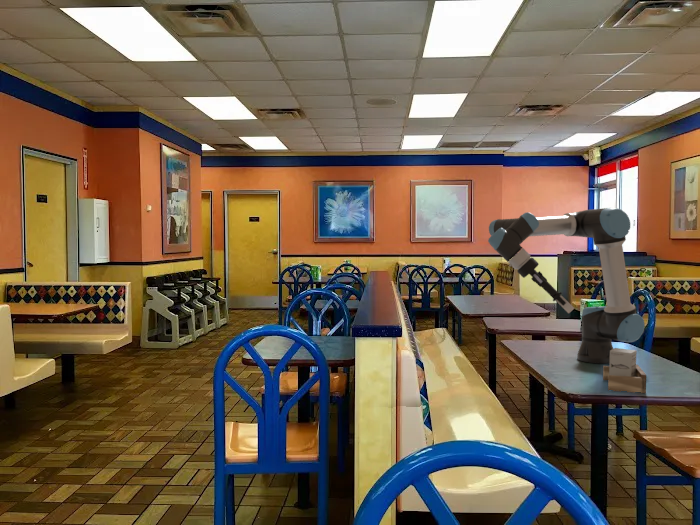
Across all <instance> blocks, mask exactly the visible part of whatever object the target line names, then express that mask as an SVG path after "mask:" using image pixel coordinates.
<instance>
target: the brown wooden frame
mask: <svg viewBox="0 0 700 525" xmlns="http://www.w3.org/2000/svg"><path fill="white" fill-rule="evenodd" d="M602 367H603V369H602V373H603V374H602V380H603V381H607V384H608V385H607V390H608V391H609V390H613V391H612V392H621V391H627V392H626V393H635V392H641V393H640V394H647V373H646V372H645V371H644V370H643V369H642V368H641V366H639V364H637V363H636V377H630V376H614V375H609V365H603V366H602Z"/></svg>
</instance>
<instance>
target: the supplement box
mask: <svg viewBox="0 0 700 525" xmlns="http://www.w3.org/2000/svg"><path fill="white" fill-rule="evenodd" d="M637 353H638V352H637V350H635V349H627V348H619V347H613V349H612V350H610V363H608V364H609V365H608V366H609V375H614V376H630V377H636V364H637Z"/></svg>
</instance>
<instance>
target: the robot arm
mask: <svg viewBox="0 0 700 525" xmlns="http://www.w3.org/2000/svg"><path fill="white" fill-rule="evenodd" d="M630 230H631V220H630V218H629V215H628V214H627V213H626V212H625V211H623V210H622V209H620V208H618V207H617V208H616V207H614V208H613V207H604V208H594V209H592V208H591V209H590V208H589V209H585V210H580V211H576V212H567V213H564V214H563V215H556V216H555V215H554V216H553V215H552V216H540V217H537V216H536V215H535V214H533V213H531V212H524V213H523V214H521V215H520V216H519V217H517V218H516V217H515V218H502V219H501V218H497V219H494V220H492V221H491V222H490V223H489V225H488V233H489V234H490V237H489V238H488V240H487V242H488V244H489V245H490V246H491V247H492V249H494V251H496V252H497V253H498V254H499V256H501V257H502V258H503V260H505V261H506V262H507V263H508V266H509V268H510V267H512V268H513V269H514V270H517V273H518V274H519V276H521V277H522V278H524V279H525V278H526V277H527V276H529V275H530V276H531V280H532V282H534V283H535V284H537V286H539V287H540V288H542V289H543V290H544V291H545V292H546V293H547V294H548V295H549V296H550V297H551V298H552V301H553V302H556V303H557V304H559V306H561V308H562V309H564V311H565V312H566V313H567V314H570V313H571V312H572V311H573V310H574V309H575V307H573V305H572V304H571V303H570V302H569V301H568V300H567V299H566V298H565V297H564V296H562V292H561V291H560V292H559V291H558V290H556V288H554V286H552V284H550V282H548V280H547V278H546V277H545V276H544V275H543V273H542V272H541V271H537V270H536V268H537V267H538V266H539V262H538V261H537V260H536V259H535V258H534V257H531V254H530V253H529V252H528V251H527V250H526V249H525V248H523V246H522V245H521V244H522V243H523V242H524V241H525V240H527V239H528V238H529V237H539V236H540V237H542V236H543V237H544V236H555V235H557V236H558V235H559V236H560V235H564V236H565V237H581V238H590V239H591V238H592V239H593V240H592V241H593V244H594V245H595V246H596V247H597V248H598V251H599V258H600V266H601V273H602V279H603V286H604V293H605V297H606V298H605V300H606V306H588V307H587V306H586V307H584V308H583V309H582V313H581V314H582V315H581V343H580V346H579V348H578V352H577V361H581V362H585V363H590V364H591V363H592V364H599V365H600V364H603V365H605V364H610V350H612V349H614V346H613V342H612V340H614V341H618V342H622V343H635V342H637V340H639V339H640V338H641V336H642V335H643V333H644V331H645V320H644V318H643V317H642V316H641V315H640V314H638V313H637V310H636V309H637V308H636V306H635V305H634V304H632V303H631V296H630V291H629V290H630V289H629V284H628V283H629V282H628V276H627V269H626V261H625V255H624V249H623V248H624V247H623V244H624V243H625V242H626V240H627V239H626V236H627V235H628V234H629V232H630Z"/></svg>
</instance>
